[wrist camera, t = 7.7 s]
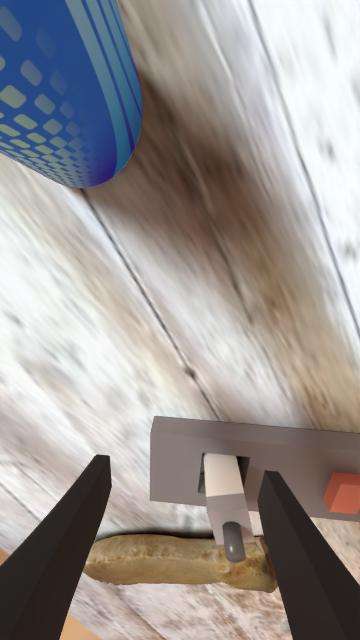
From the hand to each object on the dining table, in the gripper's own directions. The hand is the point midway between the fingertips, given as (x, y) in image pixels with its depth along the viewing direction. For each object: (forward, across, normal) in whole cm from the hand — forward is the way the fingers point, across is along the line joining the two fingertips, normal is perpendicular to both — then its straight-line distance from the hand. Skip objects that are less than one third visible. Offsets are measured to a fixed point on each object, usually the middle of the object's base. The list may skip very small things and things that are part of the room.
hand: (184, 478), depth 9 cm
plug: (+10, -4, +10) cm, 14 cm away
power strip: (+9, -8, +10) cm, 16 cm away
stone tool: (+10, 0, +26) cm, 28 cm away
